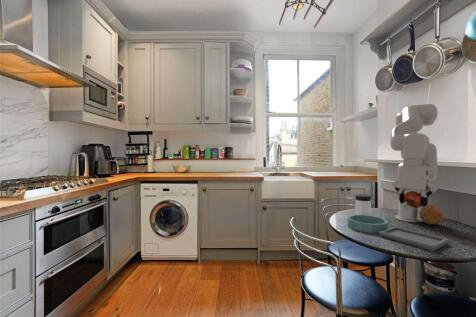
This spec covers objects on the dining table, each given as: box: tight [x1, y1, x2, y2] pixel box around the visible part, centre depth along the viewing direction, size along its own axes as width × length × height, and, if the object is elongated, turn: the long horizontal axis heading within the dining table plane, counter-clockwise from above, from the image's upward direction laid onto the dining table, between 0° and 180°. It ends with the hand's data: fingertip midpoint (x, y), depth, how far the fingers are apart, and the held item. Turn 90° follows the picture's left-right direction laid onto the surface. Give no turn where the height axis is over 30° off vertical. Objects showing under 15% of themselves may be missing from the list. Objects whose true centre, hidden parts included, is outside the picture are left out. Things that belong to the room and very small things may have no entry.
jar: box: [354, 193, 372, 216], centre depth 143 cm, size 9×8×12 cm
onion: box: [419, 204, 444, 225], centre depth 126 cm, size 10×10×10 cm
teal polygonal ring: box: [347, 214, 388, 234], centre depth 122 cm, size 17×17×4 cm
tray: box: [378, 226, 449, 253], centre depth 104 cm, size 14×20×2 cm
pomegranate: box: [403, 191, 423, 209], centre depth 104 cm, size 7×7×10 cm
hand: (412, 204), depth 104 cm, fingers closed on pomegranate, 7 cm apart
